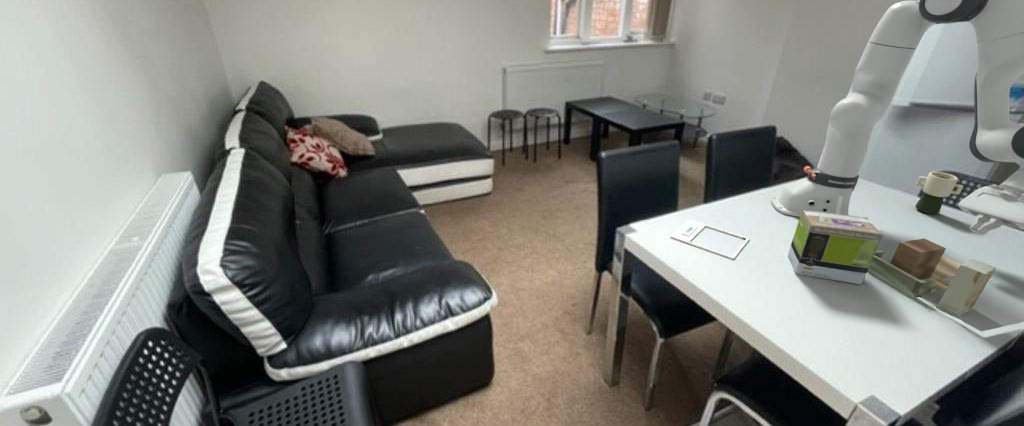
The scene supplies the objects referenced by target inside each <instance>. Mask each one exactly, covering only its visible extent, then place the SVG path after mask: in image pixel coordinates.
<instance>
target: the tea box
mask: <svg viewBox="0 0 1024 426" xmlns="http://www.w3.org/2000/svg"><path fill="white" fill-rule="evenodd" d="M795 228H796V229H795V232H794V234H793V238H792V241H791V243H790V247H789V250H788V253H787V256H788V259H789V261H790V264H791V266H792V268H793V272H794V273H795V274H796V275H801V276H807V277H813V278H814V277H815V278H821V279H825V280H832V281H839V282H845V283H851V284H855V285H861V286H862V284H863V283H864V280H865V277H866V276H867V273H868V268H869V266H870V264H871V261H872V259H873V256H874V254H875V251H877V249H878V247H879V244H880V241H881V240H882V237H883V234H882V233H881V231H879V230H878V229H877V228H876V226H875V225H874V224H873V223H872V222H871V221H870V219H869V217H865V216H858V215H857V216H856V215H849V214H848V215H841V214H834V213H825V212H817V211H808V210H802V212H801V215H800V217H799V219H798V222H797V226H796V227H795Z"/></svg>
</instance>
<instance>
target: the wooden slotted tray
mask: <svg viewBox="0 0 1024 426" xmlns="http://www.w3.org/2000/svg"><path fill="white" fill-rule="evenodd" d="M884 253H885V251H883V250H881V249H880V250H877V249H876V251H875V254H874V256H873V259H872V261H871V264H870V266H869V268H868V271H867V273H869V274H871V275H873V276H874V277H876V278H878V279H880V280H881V281H883V282H884V283H886V284H888V285H890V286H891V287H893V288H895V289H897V290H898V291H900V292H902V293H903V294H905V295H906V296H909V297H911V298H912V299H916V298H922V296H921V295H924V294H928V293H929V294H930V293H933V292H938V291H946V290H947V288H948V286H949V284H950V283H951V282H948V281H946V280H944V278H951V277H954V275H955V274H956V272H957V270H958V268H959V267H960V265H961V264H962V263H958V262H956V261H954V260H952V259H950V258H948V257H947V256H944V255H942V257H941V259H940V261H939V263H938V264H937V266H936V268H935V270H934V272H933V274H932V276H931V278H928V279H923V280H919V279H917V278H916V277H914V276H912V275H910V274H908V273H906V272H905V271H903V270H901V269H899V268H897V267H895V266H894V265H892V264H890V262H888V261H886V260H884V259H882V257H883V255H884ZM991 281H993V278H990V279H989V281H988V282H991Z"/></svg>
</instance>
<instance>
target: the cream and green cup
mask: <svg viewBox="0 0 1024 426" xmlns="http://www.w3.org/2000/svg"><path fill="white" fill-rule="evenodd" d="M923 180H924V183H922V181H923ZM958 180H959V178H958V177H957V176H955V175H954V174H950V173H946V172H943V171H942V172H940V171H930V172H929V173H928V175H927V176H923V175H921V176H919V177H918V179H917V181H916V183H915V185H916V186H918V187H922V192H923V194H922V195H921V197H920V198H919V200H918V201H917V202H916V204H915V205H914V206H915V208H916V209H917V210H918V211H921V212H923V213H926V214H939V213H940V212H941V209H942V206H943V203H944V198H947V197H949V196H951V194H952V195H959V194H961V191H962V189H963V188H964V186H963V185H962V184H958V183H957V182H958ZM954 188H957V189H956V190H954Z"/></svg>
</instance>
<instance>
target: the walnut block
mask: <svg viewBox="0 0 1024 426" xmlns="http://www.w3.org/2000/svg"><path fill="white" fill-rule="evenodd" d="M946 250H947V248H946V247H944V246H941V245H939V244H937V243H935V242H934V241H931V240H929V239H927V238H919V239H912V240H906V241H904V240H903V241H900V242H899V244H898V246H897V247H896V250H895V252H894V254H893V257H892V259H891V261H890V262H889V263H890V264H892V265H894V266H895V267H897V268H899V269H901V270H903V271H905V272H906V273H908V274H910V275H912V276H914V277H916V278H917V279H919V280H923V279H928V278H931V276H932V274H933V272H934V270H935V268H936V266H937V264H938V263H939V261H940V259H941V257H942V256H944V254H945V251H946Z"/></svg>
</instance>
